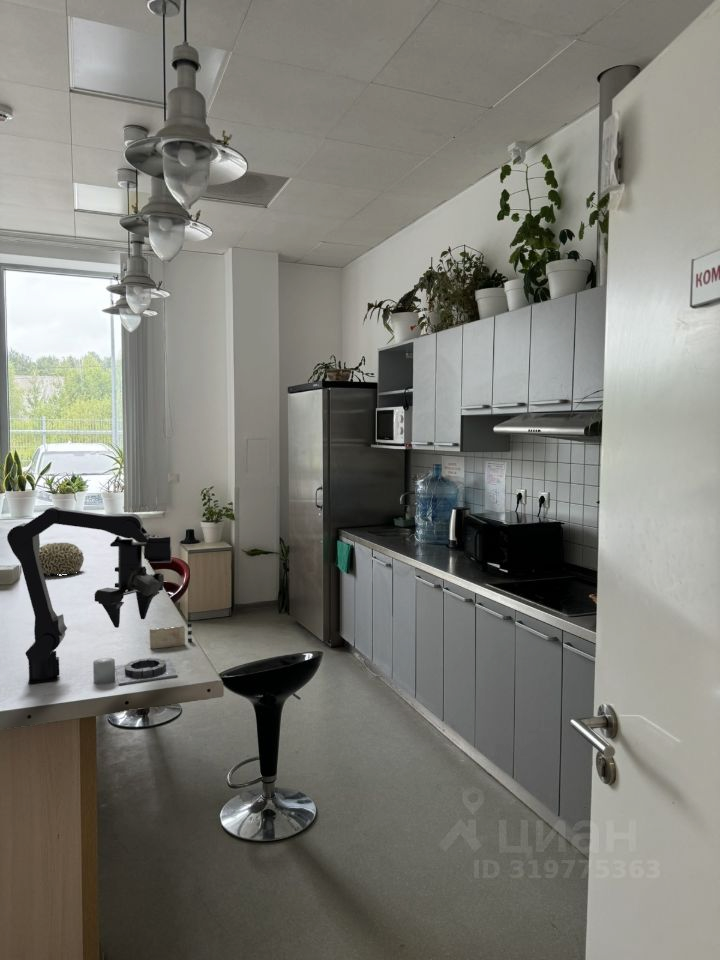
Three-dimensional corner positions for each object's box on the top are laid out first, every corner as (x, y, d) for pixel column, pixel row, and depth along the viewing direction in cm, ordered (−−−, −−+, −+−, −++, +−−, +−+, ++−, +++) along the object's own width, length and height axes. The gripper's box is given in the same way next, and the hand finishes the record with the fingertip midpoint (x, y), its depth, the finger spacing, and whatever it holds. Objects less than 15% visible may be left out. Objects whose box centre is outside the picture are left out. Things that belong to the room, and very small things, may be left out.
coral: (31, 583, 290) (28, 550, 288) (28, 573, 305) (25, 542, 303) (87, 575, 301) (85, 543, 299) (82, 566, 317) (79, 535, 315)
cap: (94, 685, 163) (93, 664, 162) (93, 679, 167) (92, 658, 167) (115, 682, 165) (115, 661, 165) (114, 676, 169) (113, 655, 169)
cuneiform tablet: (191, 622, 198) (149, 627, 194) (192, 625, 194) (149, 629, 190) (191, 642, 198) (149, 646, 194) (193, 645, 195) (150, 650, 191)
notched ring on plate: (118, 685, 163) (118, 677, 163) (114, 667, 176) (114, 660, 175) (177, 676, 168) (177, 669, 168) (169, 660, 181) (169, 653, 181)
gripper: (127, 572, 159) (127, 636, 160) (179, 560, 176) (178, 618, 177) (92, 567, 164) (92, 630, 165) (146, 556, 181) (146, 613, 182)
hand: (130, 623), depth 172 cm, fingers open, 9 cm apart
